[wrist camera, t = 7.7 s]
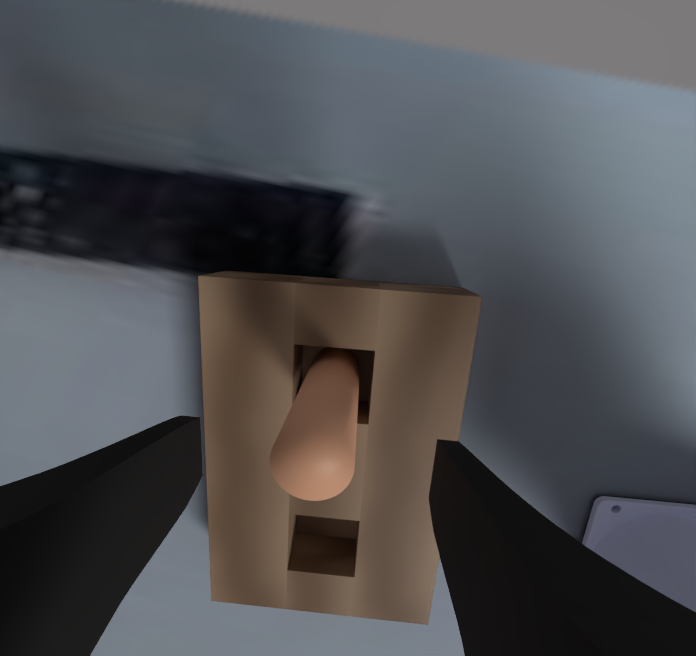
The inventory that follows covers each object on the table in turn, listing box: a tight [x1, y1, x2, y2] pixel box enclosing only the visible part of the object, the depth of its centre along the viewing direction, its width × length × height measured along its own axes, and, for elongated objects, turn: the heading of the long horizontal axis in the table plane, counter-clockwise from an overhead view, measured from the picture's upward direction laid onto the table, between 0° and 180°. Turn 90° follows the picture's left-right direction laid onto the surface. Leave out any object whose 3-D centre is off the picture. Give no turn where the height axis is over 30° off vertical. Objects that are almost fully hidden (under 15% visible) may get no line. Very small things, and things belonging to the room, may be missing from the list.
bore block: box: [198, 271, 482, 625], centre depth 18 cm, size 12×18×3 cm, turn 176°
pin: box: [270, 347, 360, 501], centre depth 14 cm, size 2×2×8 cm
